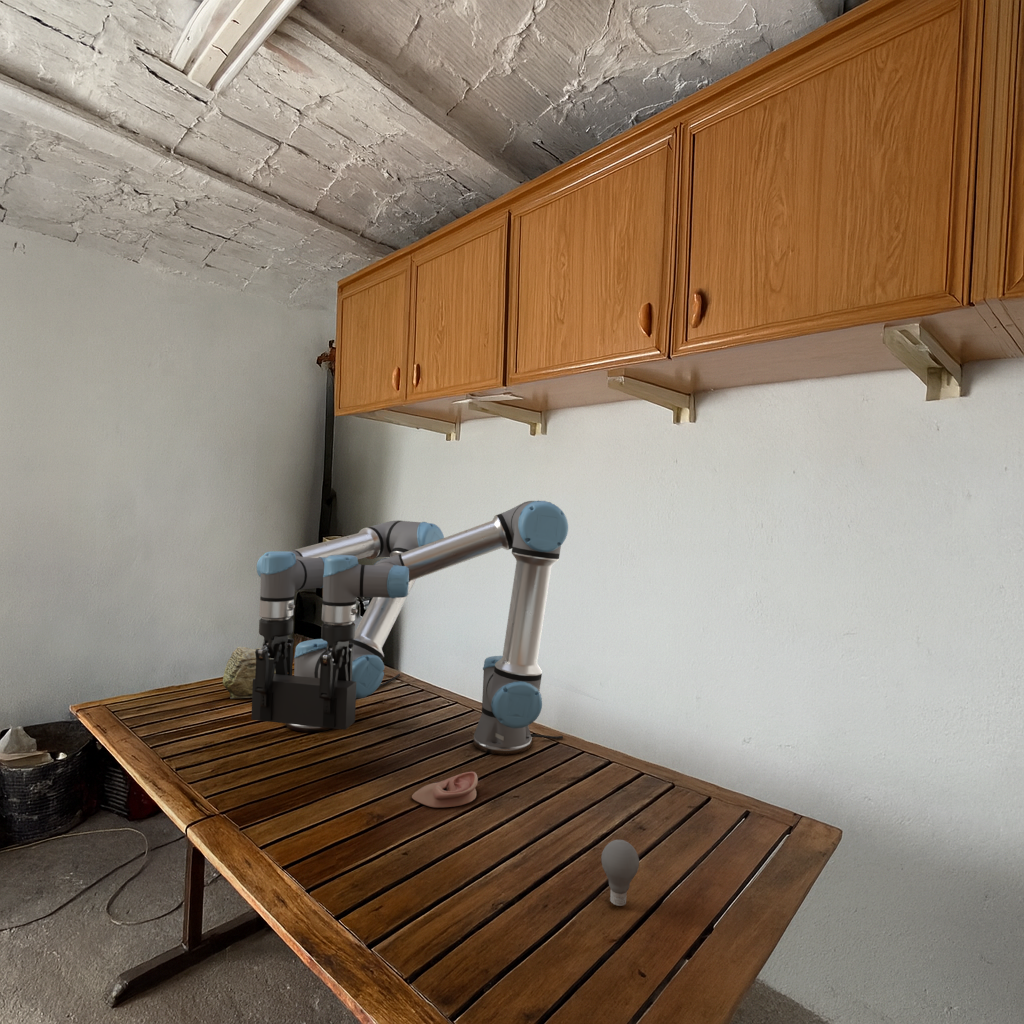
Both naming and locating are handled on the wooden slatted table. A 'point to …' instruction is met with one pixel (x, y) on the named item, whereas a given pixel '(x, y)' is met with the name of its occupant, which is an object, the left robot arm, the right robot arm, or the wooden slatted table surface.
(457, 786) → the anatomical model
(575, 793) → the wooden slatted table surface
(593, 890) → the wooden slatted table surface
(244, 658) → the fossil
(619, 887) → the light bulb
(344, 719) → the bar
